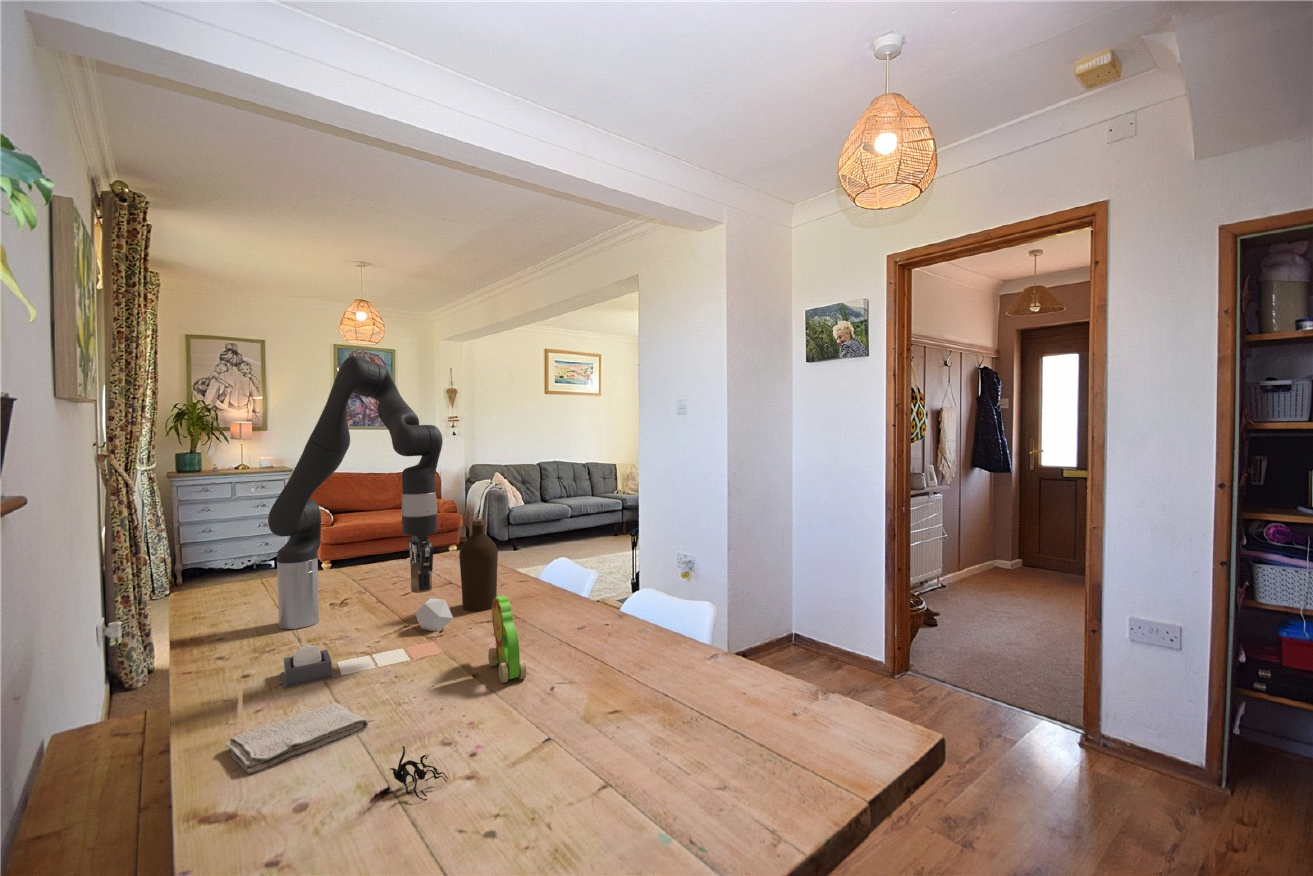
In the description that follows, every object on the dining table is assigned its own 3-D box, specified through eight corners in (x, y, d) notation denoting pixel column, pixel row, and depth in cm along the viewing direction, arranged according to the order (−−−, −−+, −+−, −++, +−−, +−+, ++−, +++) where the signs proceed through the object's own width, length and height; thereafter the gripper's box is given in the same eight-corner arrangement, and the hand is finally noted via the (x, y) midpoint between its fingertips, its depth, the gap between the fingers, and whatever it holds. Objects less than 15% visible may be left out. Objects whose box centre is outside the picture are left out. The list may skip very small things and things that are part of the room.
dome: (292, 671, 124) (292, 645, 124) (320, 665, 127) (319, 639, 127) (294, 679, 120) (293, 652, 120) (322, 673, 123) (322, 646, 123)
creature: (451, 776, 90) (398, 769, 89) (458, 742, 90) (405, 734, 89) (438, 809, 83) (380, 801, 82) (446, 771, 83) (388, 763, 82)
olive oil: (490, 612, 166) (488, 523, 166) (454, 612, 167) (452, 523, 167) (504, 601, 177) (502, 517, 176) (469, 600, 178) (467, 517, 177)
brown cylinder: (409, 589, 137) (408, 563, 136) (429, 586, 139) (428, 560, 139) (413, 593, 133) (412, 567, 133) (434, 590, 135) (433, 564, 135)
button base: (281, 677, 125) (280, 658, 125) (330, 666, 130) (329, 648, 130) (283, 692, 117) (282, 672, 117) (335, 680, 122) (334, 661, 122)
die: (459, 630, 154) (451, 595, 159) (446, 623, 147) (438, 587, 151) (429, 643, 153) (422, 608, 158) (414, 637, 146) (407, 600, 150)
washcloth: (222, 754, 96) (222, 735, 96) (338, 712, 110) (338, 695, 110) (248, 781, 88) (248, 760, 88) (369, 732, 102) (369, 714, 102)
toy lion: (528, 681, 121) (526, 606, 121) (501, 687, 118) (499, 611, 118) (509, 655, 135) (508, 588, 135) (485, 659, 133) (483, 591, 132)
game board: (332, 665, 130) (332, 661, 130) (436, 643, 143) (436, 640, 143) (338, 681, 122) (338, 677, 122) (447, 656, 135) (447, 652, 135)
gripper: (444, 514, 132) (446, 591, 132) (429, 507, 144) (431, 578, 144) (408, 518, 128) (411, 597, 128) (395, 510, 139) (397, 583, 140)
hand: (421, 587), depth 136 cm, fingers closed on brown cylinder, 4 cm apart
